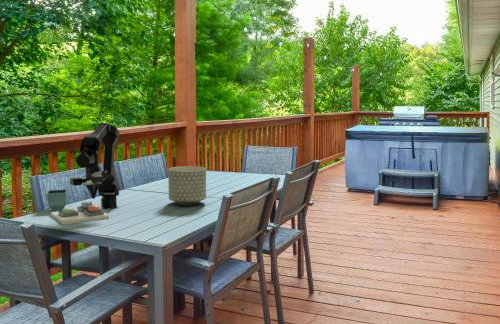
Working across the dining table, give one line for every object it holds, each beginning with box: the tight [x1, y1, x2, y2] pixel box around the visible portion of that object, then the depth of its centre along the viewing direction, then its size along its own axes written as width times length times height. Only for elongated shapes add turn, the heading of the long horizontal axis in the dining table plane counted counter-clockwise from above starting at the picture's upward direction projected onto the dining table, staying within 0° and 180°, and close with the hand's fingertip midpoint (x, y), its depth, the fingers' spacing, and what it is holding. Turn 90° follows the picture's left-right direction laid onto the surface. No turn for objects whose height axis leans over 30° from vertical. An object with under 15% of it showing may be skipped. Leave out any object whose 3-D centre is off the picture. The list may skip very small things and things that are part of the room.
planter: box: [167, 165, 207, 206], centre depth 258 cm, size 19×19×18 cm
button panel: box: [50, 205, 110, 225], centre depth 230 cm, size 20×20×3 cm
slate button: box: [80, 200, 93, 209], centre depth 237 cm, size 5×5×2 cm
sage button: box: [61, 207, 74, 214], centre depth 227 cm, size 5×5×2 cm
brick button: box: [88, 204, 100, 213], centre depth 229 cm, size 5×5×2 cm
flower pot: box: [46, 189, 68, 212], centre depth 245 cm, size 9×9×9 cm
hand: (93, 198), depth 228 cm, fingers closed
